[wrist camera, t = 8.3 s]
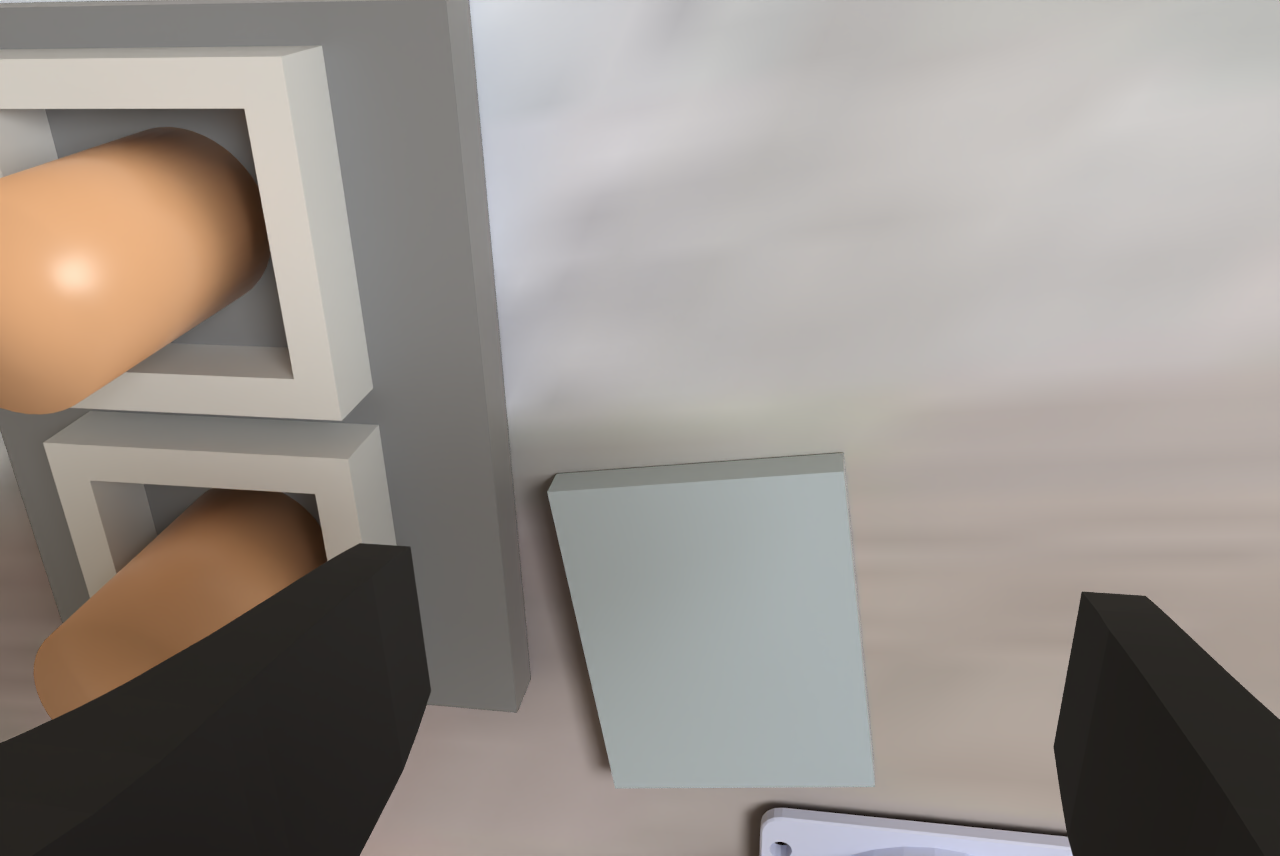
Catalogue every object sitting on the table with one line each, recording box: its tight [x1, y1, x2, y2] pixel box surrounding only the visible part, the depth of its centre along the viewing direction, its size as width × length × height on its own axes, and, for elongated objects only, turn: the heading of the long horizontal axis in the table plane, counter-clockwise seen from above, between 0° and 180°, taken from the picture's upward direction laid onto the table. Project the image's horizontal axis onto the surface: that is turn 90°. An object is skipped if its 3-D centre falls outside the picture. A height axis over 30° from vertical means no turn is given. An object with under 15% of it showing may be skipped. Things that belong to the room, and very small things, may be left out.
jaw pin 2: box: [34, 488, 327, 720], centre depth 21 cm, size 3×3×5 cm
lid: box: [547, 453, 875, 788], centre depth 23 cm, size 8×6×1 cm
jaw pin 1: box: [0, 127, 271, 414], centre depth 18 cm, size 3×3×5 cm
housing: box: [0, 0, 531, 713], centre depth 22 cm, size 15×11×3 cm
